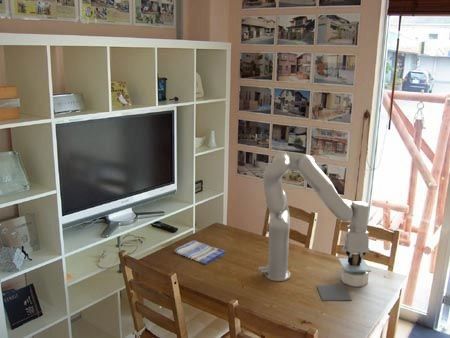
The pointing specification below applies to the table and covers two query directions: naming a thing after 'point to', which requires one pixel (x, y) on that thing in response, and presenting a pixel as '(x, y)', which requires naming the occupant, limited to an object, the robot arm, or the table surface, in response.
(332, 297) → the mat
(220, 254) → the dish towel
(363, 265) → the cover
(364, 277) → the bowl
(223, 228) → the table surface
